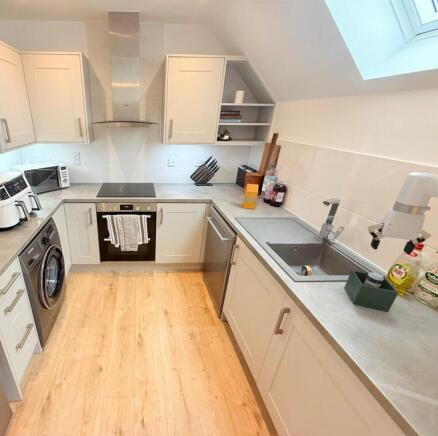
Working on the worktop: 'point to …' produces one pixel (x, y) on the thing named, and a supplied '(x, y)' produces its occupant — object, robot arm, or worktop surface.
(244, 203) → the orange juice
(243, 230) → the worktop surface
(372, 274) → the white and teal cylinder
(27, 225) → the worktop surface
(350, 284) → the waste bin
